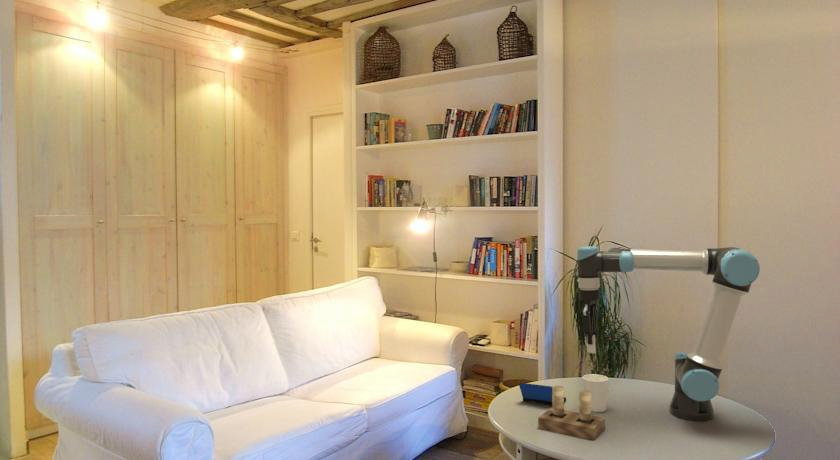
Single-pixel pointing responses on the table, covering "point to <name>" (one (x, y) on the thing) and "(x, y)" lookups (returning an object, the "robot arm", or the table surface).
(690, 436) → the table surface
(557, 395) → the beech peg
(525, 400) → the handheld game console
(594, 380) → the candle holder
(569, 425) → the wooden peg block
